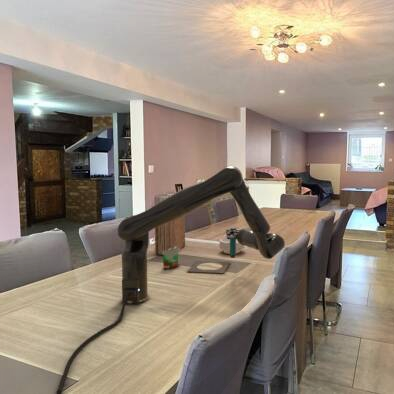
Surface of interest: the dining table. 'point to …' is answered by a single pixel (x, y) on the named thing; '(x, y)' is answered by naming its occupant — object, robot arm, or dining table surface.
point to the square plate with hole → (209, 267)
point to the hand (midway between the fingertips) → (230, 231)
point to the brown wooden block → (170, 235)
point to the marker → (232, 245)
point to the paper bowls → (226, 245)
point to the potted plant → (170, 257)
